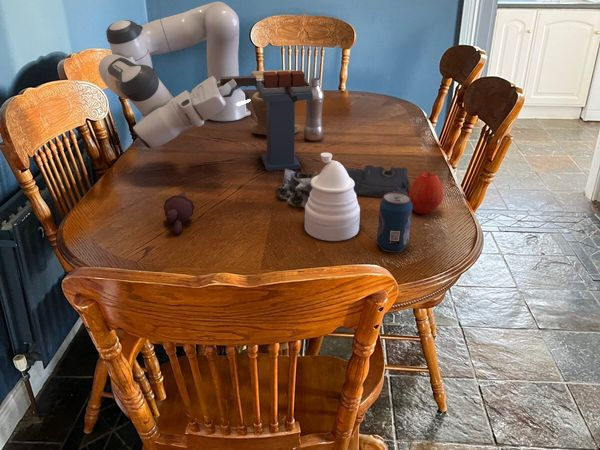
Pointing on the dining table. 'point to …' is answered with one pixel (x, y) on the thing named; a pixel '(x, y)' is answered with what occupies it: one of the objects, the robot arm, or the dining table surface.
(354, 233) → the honey pot
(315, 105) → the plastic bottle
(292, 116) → the stand
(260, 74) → the cutting board
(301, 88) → the steel pan
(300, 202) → the foil
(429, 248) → the dining table surface
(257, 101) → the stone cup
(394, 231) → the soda can
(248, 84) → the beef skewer
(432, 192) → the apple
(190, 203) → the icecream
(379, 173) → the dark slate chunk
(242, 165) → the dining table surface
